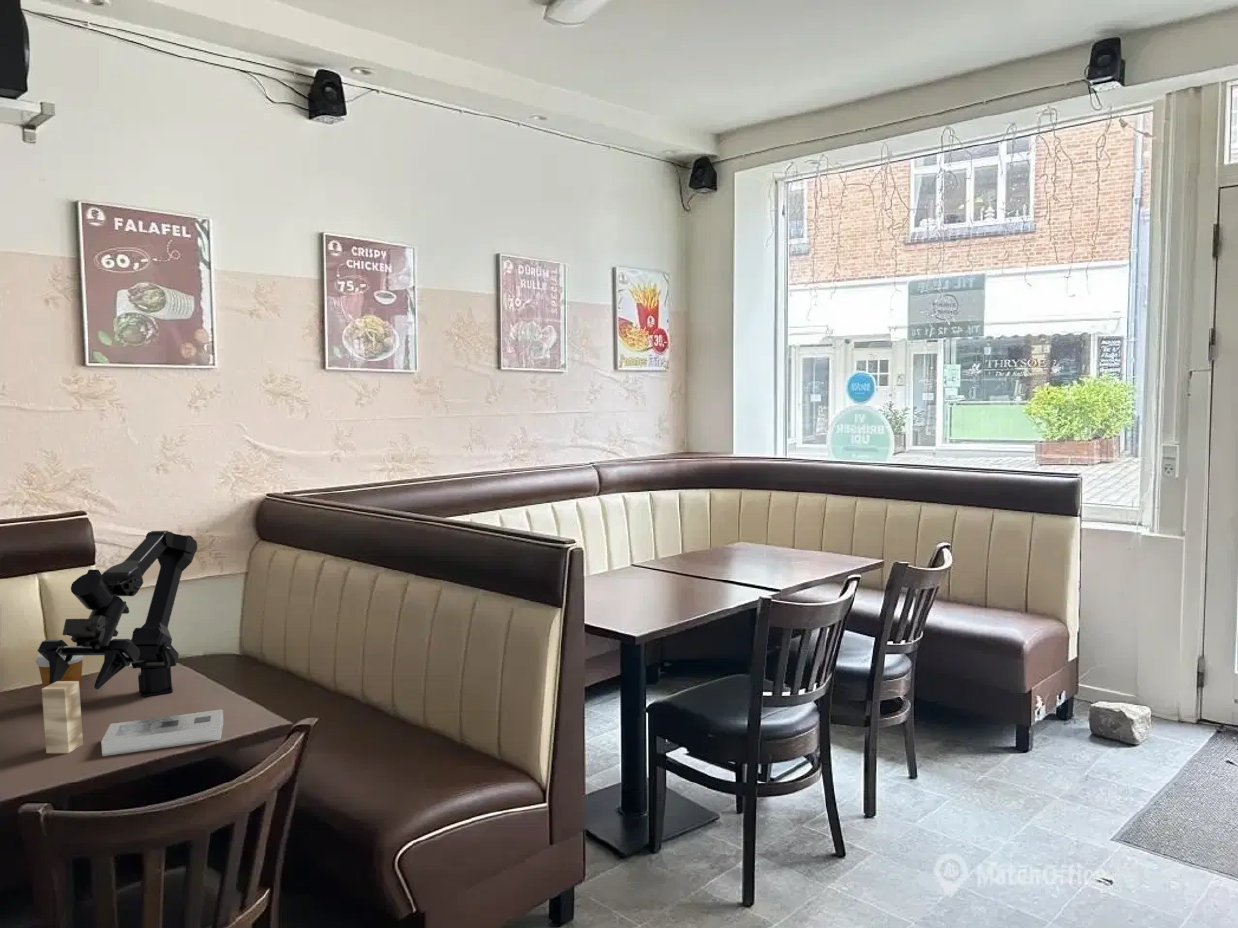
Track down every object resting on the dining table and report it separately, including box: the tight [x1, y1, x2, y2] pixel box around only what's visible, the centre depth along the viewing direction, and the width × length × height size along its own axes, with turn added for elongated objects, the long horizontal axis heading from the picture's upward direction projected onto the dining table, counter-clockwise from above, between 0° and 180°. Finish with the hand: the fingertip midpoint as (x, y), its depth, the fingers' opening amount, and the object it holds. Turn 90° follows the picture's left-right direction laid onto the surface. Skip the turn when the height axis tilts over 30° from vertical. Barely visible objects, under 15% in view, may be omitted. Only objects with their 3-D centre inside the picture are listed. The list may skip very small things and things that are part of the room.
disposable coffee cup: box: [35, 653, 86, 691], centre depth 203 cm, size 10×10×12 cm
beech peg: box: [41, 681, 84, 754], centre depth 176 cm, size 4×4×13 cm
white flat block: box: [100, 709, 224, 757], centre depth 181 cm, size 21×10×3 cm, turn 111°
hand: (73, 688), depth 180 cm, fingers open, 9 cm apart
